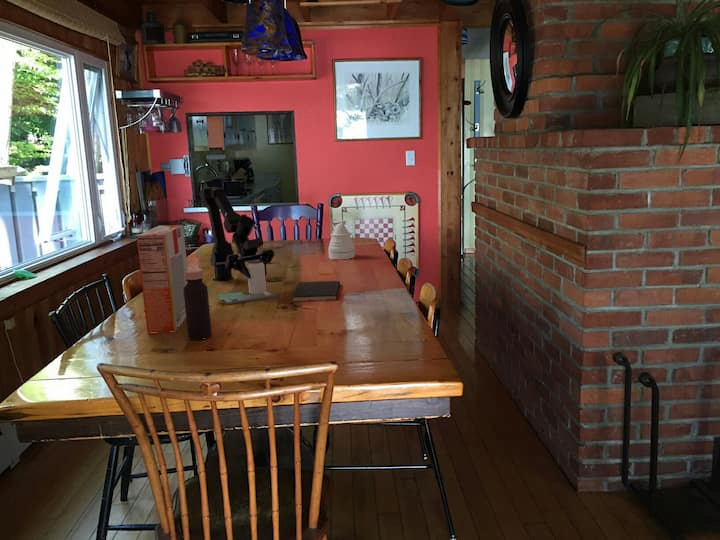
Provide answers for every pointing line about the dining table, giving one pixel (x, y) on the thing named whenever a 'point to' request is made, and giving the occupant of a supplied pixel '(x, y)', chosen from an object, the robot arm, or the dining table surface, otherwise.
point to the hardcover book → (316, 290)
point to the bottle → (197, 305)
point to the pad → (229, 295)
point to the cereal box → (163, 276)
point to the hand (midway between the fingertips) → (257, 276)
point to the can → (256, 277)
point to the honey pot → (341, 243)
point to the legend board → (249, 297)
